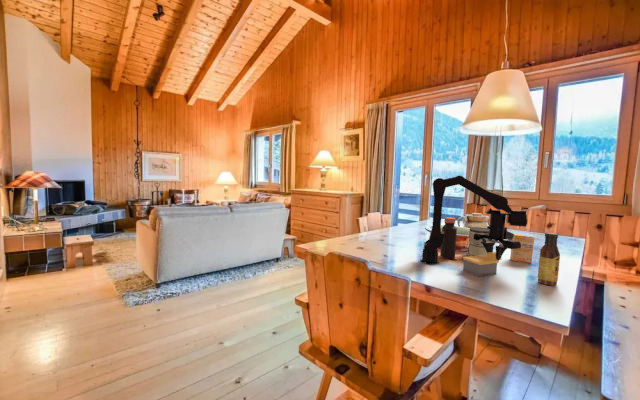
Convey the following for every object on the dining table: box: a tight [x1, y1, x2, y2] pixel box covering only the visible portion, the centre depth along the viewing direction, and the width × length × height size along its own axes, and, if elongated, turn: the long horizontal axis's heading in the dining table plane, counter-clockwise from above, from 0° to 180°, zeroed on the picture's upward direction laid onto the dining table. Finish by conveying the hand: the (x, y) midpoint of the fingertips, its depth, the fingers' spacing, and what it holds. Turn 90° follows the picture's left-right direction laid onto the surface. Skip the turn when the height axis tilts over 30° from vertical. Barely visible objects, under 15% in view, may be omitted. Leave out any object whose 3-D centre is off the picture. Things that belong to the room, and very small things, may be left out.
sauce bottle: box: [537, 232, 561, 287], centre depth 116 cm, size 7×6×20 cm
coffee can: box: [467, 226, 489, 257], centre depth 153 cm, size 10×10×14 cm
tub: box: [462, 259, 498, 278], centre depth 127 cm, size 10×8×5 cm
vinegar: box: [440, 216, 458, 260], centre depth 148 cm, size 7×7×20 cm
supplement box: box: [509, 233, 535, 264], centre depth 145 cm, size 8×5×13 cm, turn 68°
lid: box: [462, 251, 502, 265], centre depth 128 cm, size 16×8×3 cm, turn 112°
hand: (494, 259), depth 130 cm, fingers closed on lid, 3 cm apart
